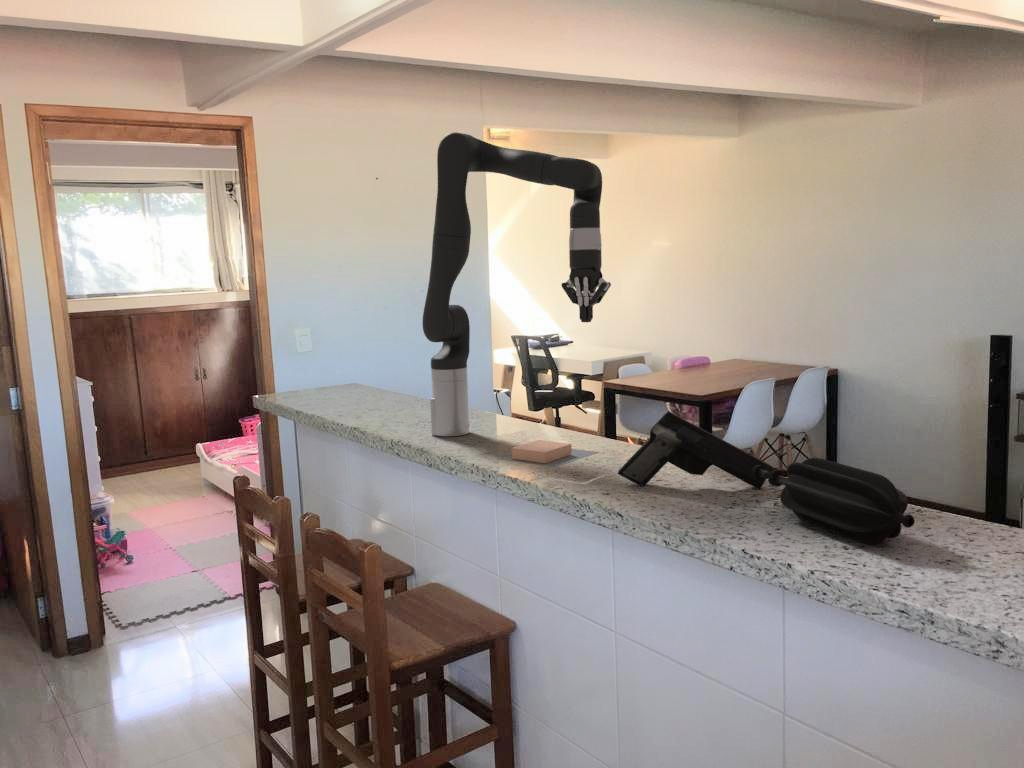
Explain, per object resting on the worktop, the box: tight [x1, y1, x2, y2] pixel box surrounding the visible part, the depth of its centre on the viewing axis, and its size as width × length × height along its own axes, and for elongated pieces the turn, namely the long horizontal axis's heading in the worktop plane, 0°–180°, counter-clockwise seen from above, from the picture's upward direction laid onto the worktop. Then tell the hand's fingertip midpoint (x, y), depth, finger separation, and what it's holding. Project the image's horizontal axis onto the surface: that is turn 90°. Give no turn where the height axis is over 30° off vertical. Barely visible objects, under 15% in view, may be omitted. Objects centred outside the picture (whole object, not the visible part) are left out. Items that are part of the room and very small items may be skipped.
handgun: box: [617, 411, 773, 490], centre depth 158 cm, size 2×24×15 cm, turn 79°
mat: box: [496, 448, 600, 468], centre depth 187 cm, size 16×17×1 cm
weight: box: [751, 457, 915, 545], centre depth 132 cm, size 34×10×10 cm, turn 22°
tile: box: [511, 439, 572, 463], centre depth 185 cm, size 9×3×10 cm
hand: (586, 322), depth 199 cm, fingers closed
